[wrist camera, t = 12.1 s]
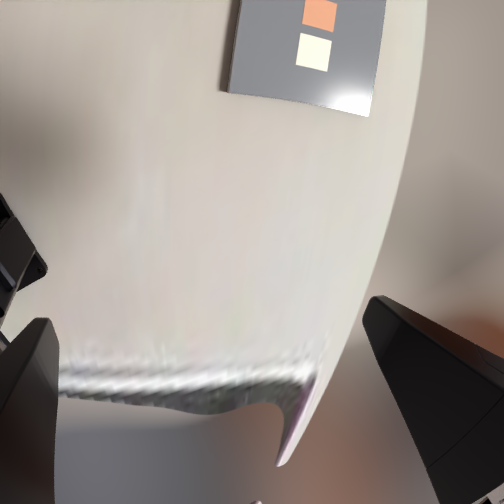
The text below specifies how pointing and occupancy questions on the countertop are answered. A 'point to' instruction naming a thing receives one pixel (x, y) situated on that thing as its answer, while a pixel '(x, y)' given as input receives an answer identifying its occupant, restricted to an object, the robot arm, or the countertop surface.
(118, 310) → the countertop surface
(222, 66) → the countertop surface
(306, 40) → the tile
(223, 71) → the countertop surface
